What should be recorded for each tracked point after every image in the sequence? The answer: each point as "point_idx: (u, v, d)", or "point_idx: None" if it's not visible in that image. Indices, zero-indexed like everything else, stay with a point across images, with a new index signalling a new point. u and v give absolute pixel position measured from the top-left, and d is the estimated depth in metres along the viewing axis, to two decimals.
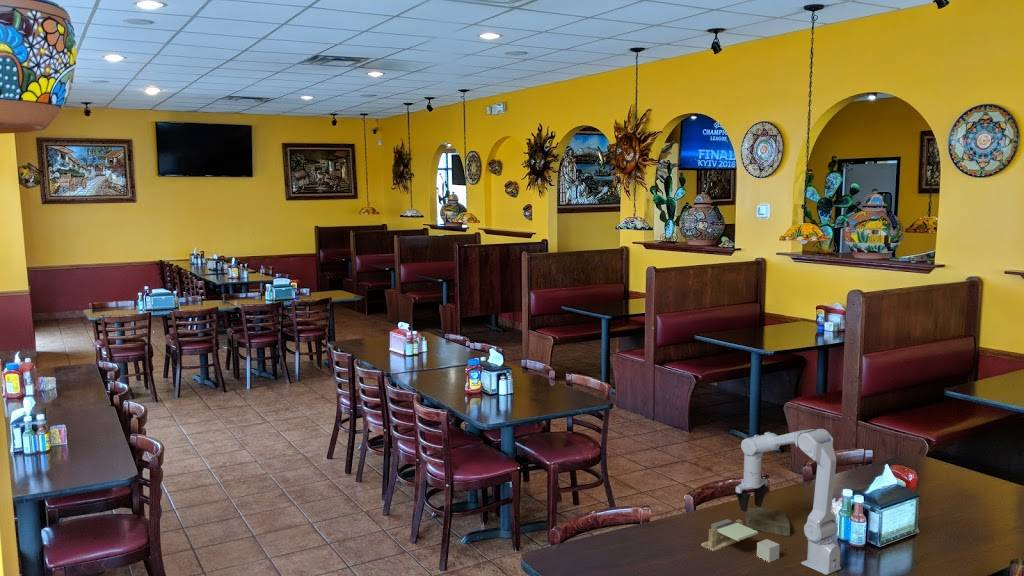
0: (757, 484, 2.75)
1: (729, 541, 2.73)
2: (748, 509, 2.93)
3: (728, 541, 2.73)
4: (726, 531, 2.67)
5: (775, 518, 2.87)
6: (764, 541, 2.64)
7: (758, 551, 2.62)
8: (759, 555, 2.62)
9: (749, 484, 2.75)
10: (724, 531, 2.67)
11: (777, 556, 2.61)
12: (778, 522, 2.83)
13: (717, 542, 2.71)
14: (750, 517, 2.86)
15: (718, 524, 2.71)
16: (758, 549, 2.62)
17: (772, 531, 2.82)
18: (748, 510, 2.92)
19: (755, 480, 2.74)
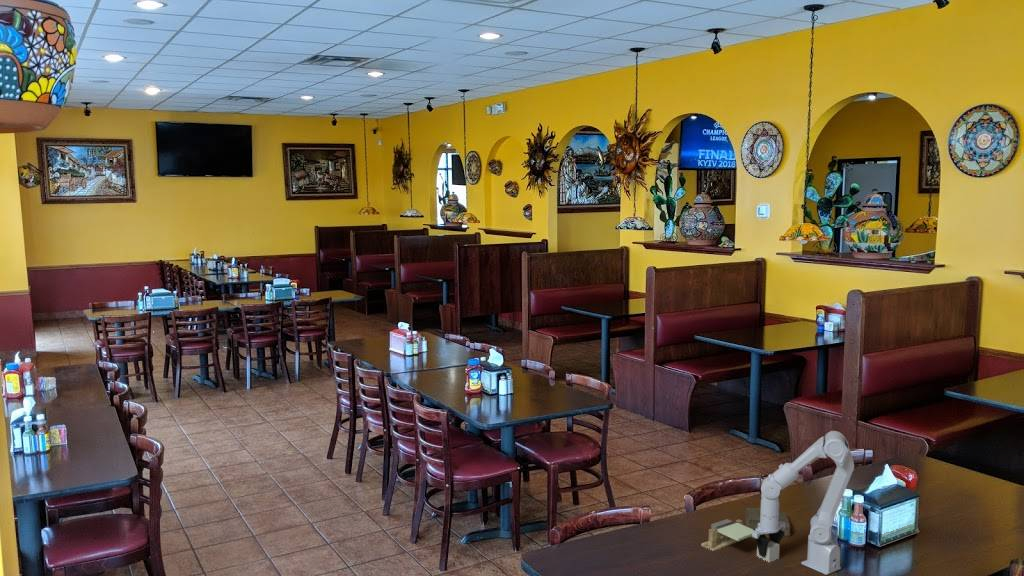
0: (775, 528, 2.59)
1: (729, 541, 2.73)
2: (748, 509, 2.93)
3: (728, 541, 2.73)
4: (726, 531, 2.67)
5: None
6: None
7: (758, 551, 2.62)
8: (759, 555, 2.62)
9: (767, 528, 2.59)
10: (724, 531, 2.67)
11: (777, 556, 2.61)
12: None
13: (717, 542, 2.71)
14: (750, 517, 2.86)
15: (718, 524, 2.71)
16: None
17: None
18: (748, 510, 2.92)
19: (773, 524, 2.58)
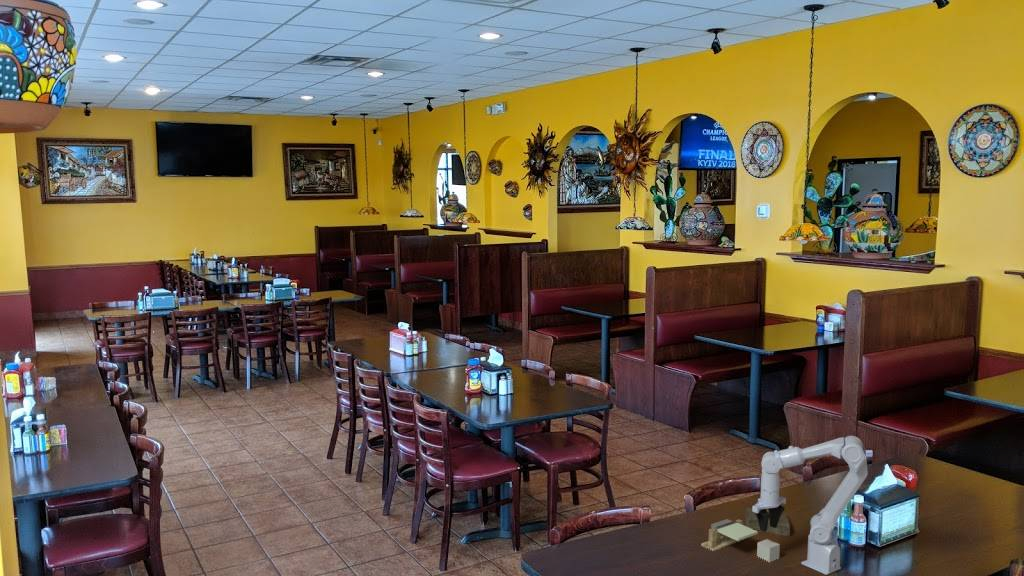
0: (775, 503, 2.58)
1: (729, 541, 2.73)
2: (748, 509, 2.93)
3: (728, 541, 2.73)
4: (726, 531, 2.67)
5: None
6: (764, 541, 2.64)
7: (758, 551, 2.63)
8: (759, 555, 2.62)
9: (767, 503, 2.58)
10: (724, 531, 2.67)
11: (777, 556, 2.61)
12: (778, 522, 2.83)
13: (717, 542, 2.71)
14: (750, 517, 2.86)
15: (718, 524, 2.71)
16: (758, 549, 2.62)
17: (772, 531, 2.82)
18: (748, 510, 2.92)
19: (773, 499, 2.57)
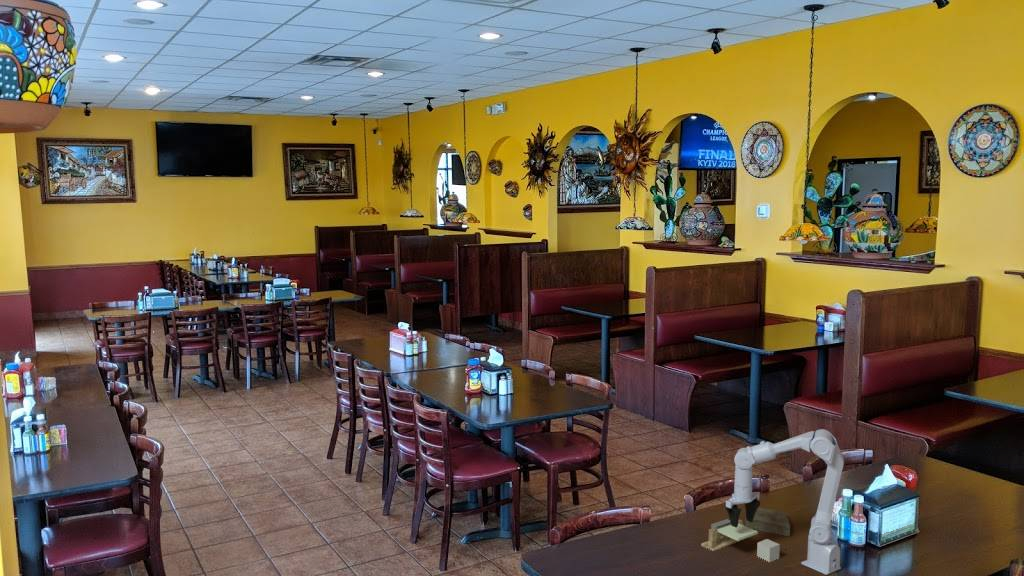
0: (748, 498, 2.62)
1: (729, 541, 2.73)
2: None
3: (728, 541, 2.73)
4: (726, 531, 2.67)
5: (775, 518, 2.87)
6: (764, 541, 2.64)
7: (758, 551, 2.62)
8: (759, 555, 2.62)
9: (740, 498, 2.62)
10: (724, 531, 2.67)
11: (777, 556, 2.61)
12: (778, 522, 2.83)
13: (717, 542, 2.71)
14: None
15: (718, 524, 2.71)
16: (758, 549, 2.62)
17: (772, 531, 2.82)
18: None
19: (747, 494, 2.62)
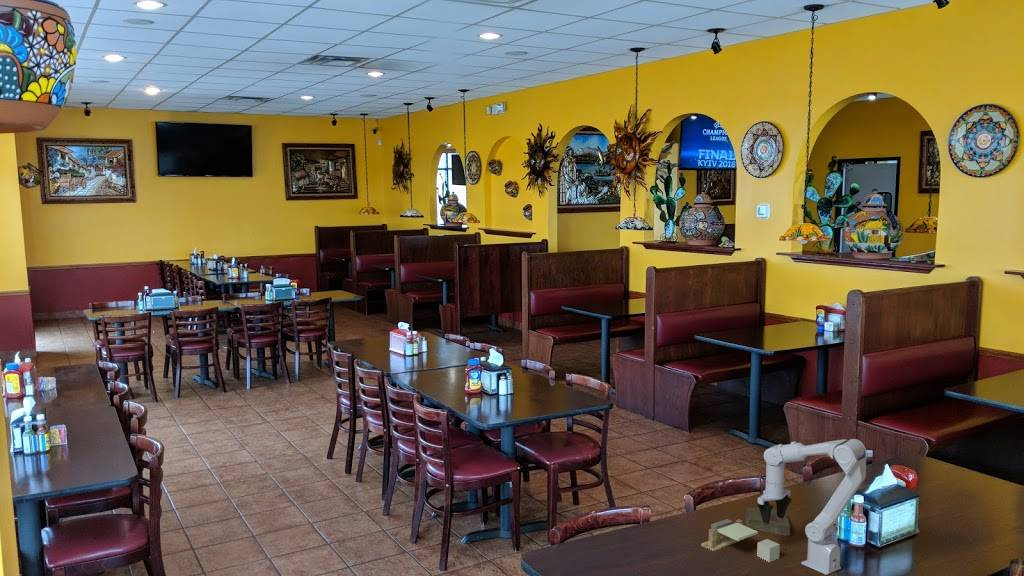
0: (780, 495, 2.63)
1: (729, 541, 2.73)
2: (748, 509, 2.93)
3: (728, 541, 2.73)
4: (726, 531, 2.67)
5: (775, 518, 2.87)
6: (764, 541, 2.64)
7: (758, 551, 2.62)
8: (759, 555, 2.62)
9: (772, 495, 2.64)
10: (724, 531, 2.67)
11: (777, 556, 2.61)
12: (778, 522, 2.83)
13: (717, 542, 2.71)
14: (750, 517, 2.86)
15: (718, 524, 2.71)
16: (758, 549, 2.62)
17: (772, 531, 2.82)
18: (748, 510, 2.92)
19: (778, 491, 2.63)
